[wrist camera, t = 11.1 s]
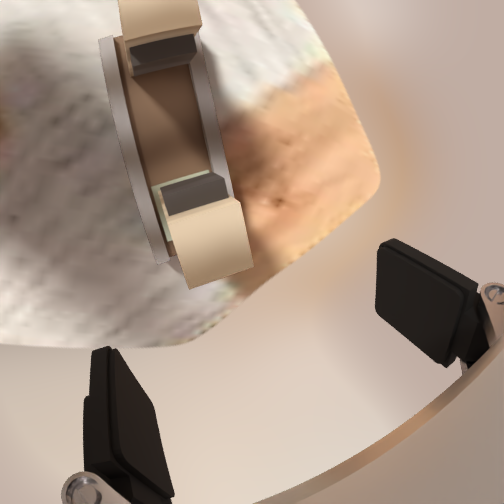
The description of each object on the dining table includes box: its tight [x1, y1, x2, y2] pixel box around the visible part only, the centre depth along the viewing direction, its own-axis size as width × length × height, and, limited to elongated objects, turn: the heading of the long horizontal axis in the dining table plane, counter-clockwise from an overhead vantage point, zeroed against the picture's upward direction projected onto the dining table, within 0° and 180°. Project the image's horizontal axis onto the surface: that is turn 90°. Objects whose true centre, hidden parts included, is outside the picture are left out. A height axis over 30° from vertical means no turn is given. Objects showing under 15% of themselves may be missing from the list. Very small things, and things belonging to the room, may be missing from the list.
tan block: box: [158, 172, 254, 290], centre depth 21 cm, size 5×4×10 cm
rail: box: [98, 0, 234, 265], centre depth 20 cm, size 20×8×12 cm, turn 12°
